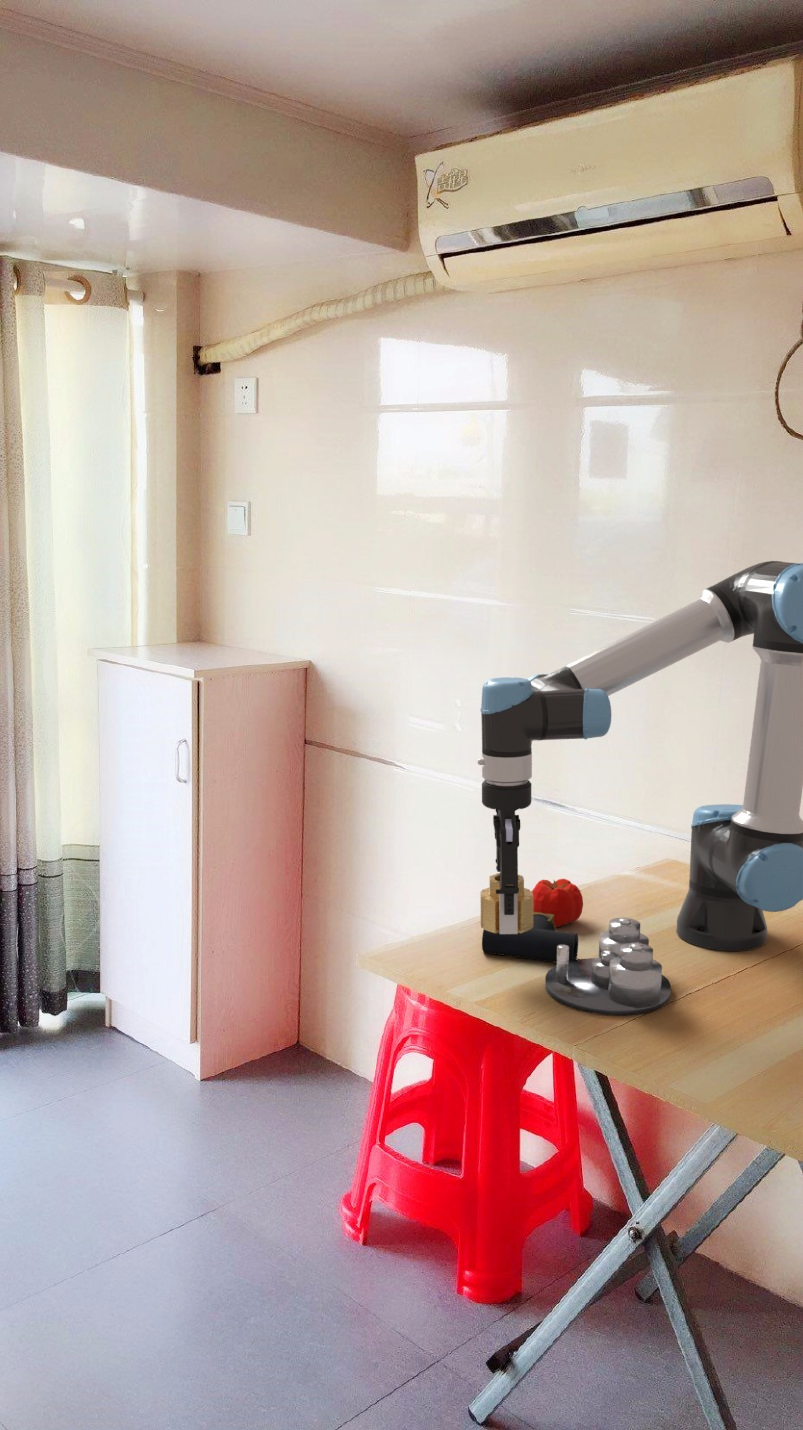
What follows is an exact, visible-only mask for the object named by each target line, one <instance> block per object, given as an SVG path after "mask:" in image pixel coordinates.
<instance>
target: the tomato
mask: <svg viewBox="0 0 803 1430" xmlns="http://www.w3.org/2000/svg"><path fill="white" fill-rule="evenodd" d="M531 891H532V893H533V912H540V913H544V914H554V923H555V927H556V928H559V927H562V926H565V925H566V924H570V923H573V922H575V921H577V920H578V919H579V918H580V917H581V915H582V913H583V907H584V900H583V899H584V898H583V894H582V892H581V890H580V889H579V887H578V886H577V885H576V884H574V883H573V882H571V881H570V880H568V879H566V878H560V879H559V878H558V879H557V880H553V882H551V881H550V880H548V879H542V880H539V881H538V882H537V883H536V884H535V886H534V887H533V889H532V890H531Z"/></svg>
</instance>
